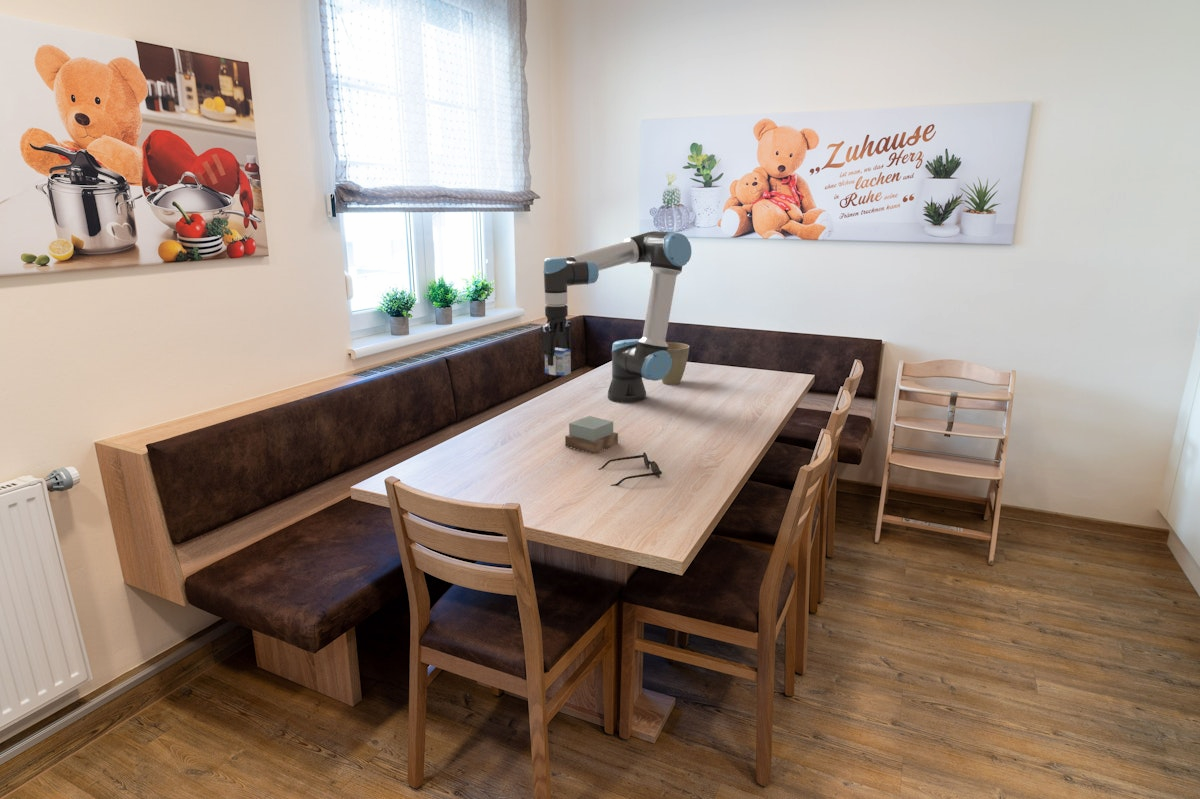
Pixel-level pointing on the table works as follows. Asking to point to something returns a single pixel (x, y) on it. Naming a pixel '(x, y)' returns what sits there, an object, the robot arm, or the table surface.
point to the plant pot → (676, 363)
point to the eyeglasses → (653, 465)
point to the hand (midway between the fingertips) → (557, 372)
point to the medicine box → (560, 362)
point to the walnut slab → (591, 443)
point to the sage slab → (591, 428)
